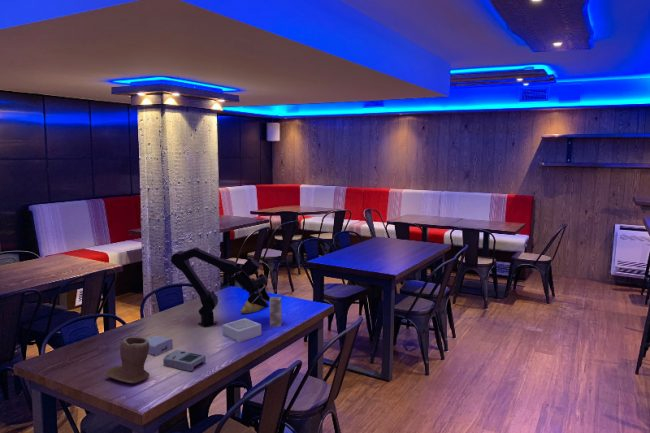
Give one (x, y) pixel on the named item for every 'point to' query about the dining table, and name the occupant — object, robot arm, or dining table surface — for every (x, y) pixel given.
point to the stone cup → (131, 361)
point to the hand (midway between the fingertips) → (269, 304)
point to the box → (241, 330)
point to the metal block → (275, 312)
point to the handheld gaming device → (183, 360)
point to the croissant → (251, 307)
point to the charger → (159, 345)
